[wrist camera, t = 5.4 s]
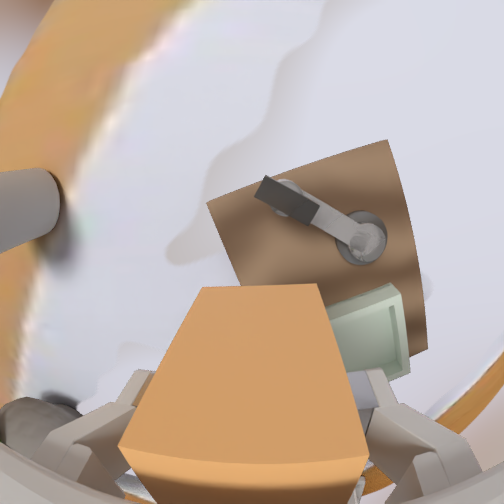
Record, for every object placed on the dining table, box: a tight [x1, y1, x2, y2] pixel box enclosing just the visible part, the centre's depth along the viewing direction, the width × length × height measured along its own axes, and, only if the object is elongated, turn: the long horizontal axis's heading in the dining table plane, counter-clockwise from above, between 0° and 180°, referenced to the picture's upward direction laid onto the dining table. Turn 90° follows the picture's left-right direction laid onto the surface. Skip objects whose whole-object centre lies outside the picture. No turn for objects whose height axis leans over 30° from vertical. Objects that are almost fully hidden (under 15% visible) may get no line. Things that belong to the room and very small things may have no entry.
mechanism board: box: [206, 140, 428, 357], centre depth 25 cm, size 22×16×2 cm
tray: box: [325, 283, 410, 382], centre depth 25 cm, size 10×10×2 cm
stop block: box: [118, 283, 370, 504], centre depth 7 cm, size 4×4×7 cm
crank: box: [254, 175, 386, 262], centre depth 20 cm, size 11×3×6 cm, turn 62°
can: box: [0, 168, 60, 253], centre depth 20 cm, size 8×8×12 cm
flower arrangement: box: [0, 397, 83, 460], centre depth 25 cm, size 25×25×24 cm
